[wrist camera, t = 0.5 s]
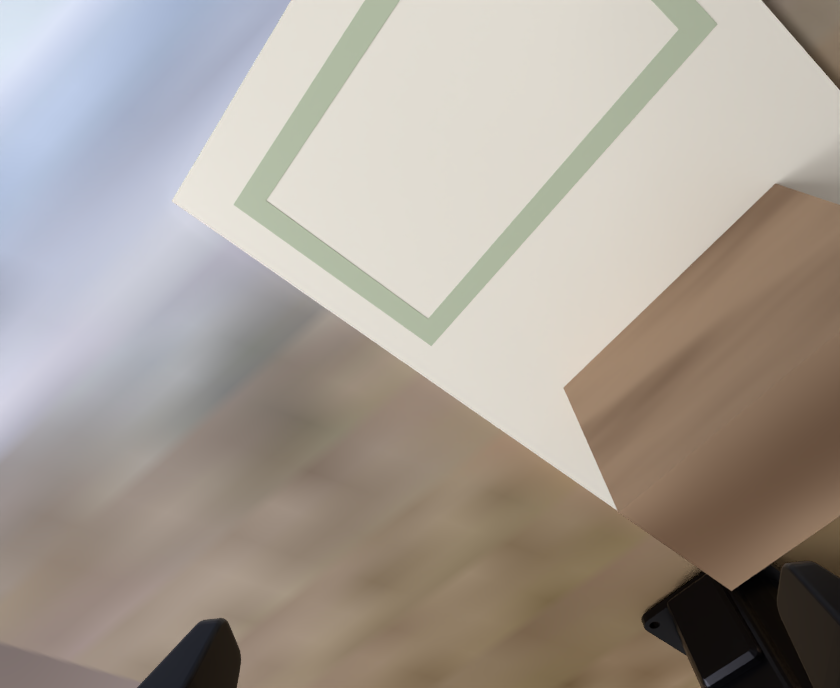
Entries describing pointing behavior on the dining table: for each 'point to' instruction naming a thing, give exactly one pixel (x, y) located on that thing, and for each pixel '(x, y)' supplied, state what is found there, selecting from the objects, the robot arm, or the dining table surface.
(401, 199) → the white flat sheet
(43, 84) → the dining table surface
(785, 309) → the walnut block
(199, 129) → the dining table surface
